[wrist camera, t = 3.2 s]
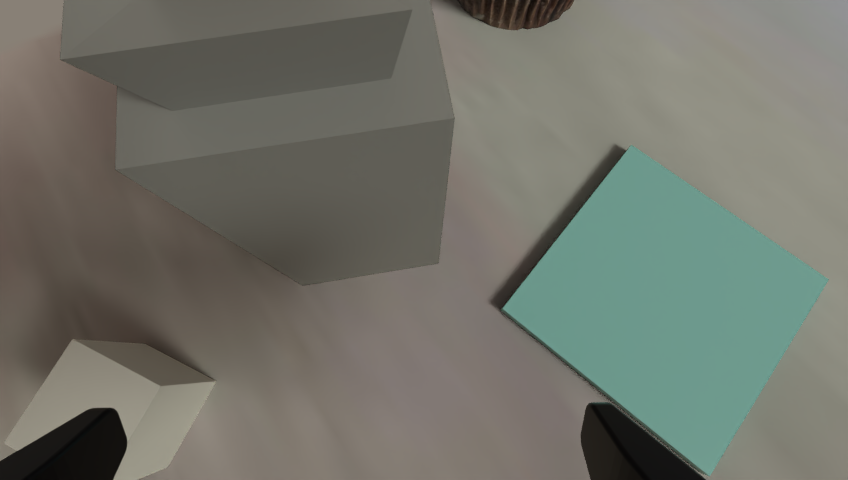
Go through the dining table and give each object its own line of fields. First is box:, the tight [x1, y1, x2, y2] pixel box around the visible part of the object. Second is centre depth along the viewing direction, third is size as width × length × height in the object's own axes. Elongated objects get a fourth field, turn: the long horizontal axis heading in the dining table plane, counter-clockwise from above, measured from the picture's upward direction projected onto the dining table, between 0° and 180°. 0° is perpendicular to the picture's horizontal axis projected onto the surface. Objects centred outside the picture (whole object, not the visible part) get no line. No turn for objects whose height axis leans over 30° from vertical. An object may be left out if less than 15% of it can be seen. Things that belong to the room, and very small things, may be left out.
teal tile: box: [501, 145, 829, 476], centre depth 21 cm, size 11×11×1 cm
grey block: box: [4, 339, 216, 480], centre depth 18 cm, size 4×4×4 cm
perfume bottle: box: [60, 0, 455, 286], centre depth 14 cm, size 7×7×18 cm
